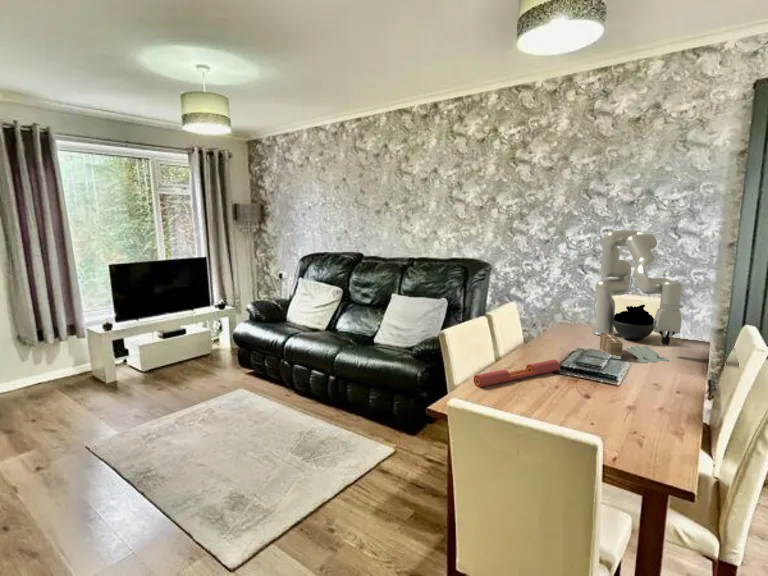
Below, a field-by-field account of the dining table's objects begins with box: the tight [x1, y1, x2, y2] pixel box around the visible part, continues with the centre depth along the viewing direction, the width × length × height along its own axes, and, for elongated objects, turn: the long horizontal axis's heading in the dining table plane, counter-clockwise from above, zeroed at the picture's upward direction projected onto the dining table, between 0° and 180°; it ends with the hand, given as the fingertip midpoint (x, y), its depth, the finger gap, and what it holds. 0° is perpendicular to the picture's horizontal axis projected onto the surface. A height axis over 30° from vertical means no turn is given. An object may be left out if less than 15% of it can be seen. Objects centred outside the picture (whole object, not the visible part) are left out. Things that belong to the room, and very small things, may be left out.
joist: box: [599, 333, 624, 357], centre depth 204 cm, size 18×5×8 cm, turn 167°
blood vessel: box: [473, 359, 560, 388], centre depth 176 cm, size 42×5×5 cm, turn 114°
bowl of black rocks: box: [613, 303, 655, 341], centre depth 227 cm, size 20×20×19 cm
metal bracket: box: [626, 344, 670, 364], centre depth 197 cm, size 14×6×15 cm
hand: (665, 344), depth 199 cm, fingers closed
